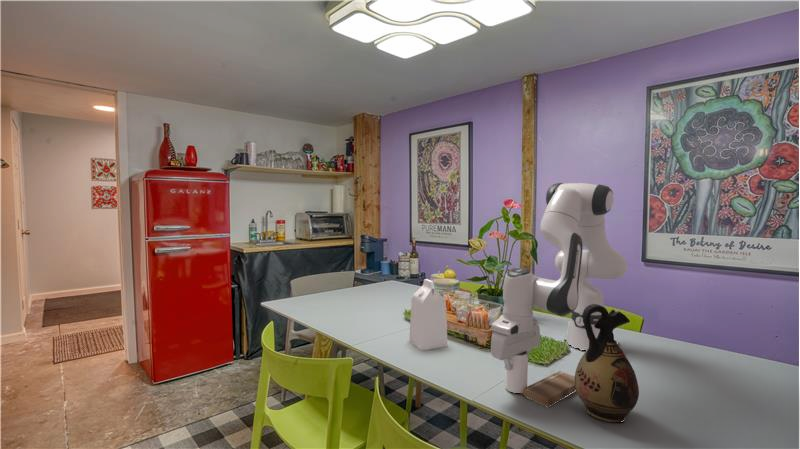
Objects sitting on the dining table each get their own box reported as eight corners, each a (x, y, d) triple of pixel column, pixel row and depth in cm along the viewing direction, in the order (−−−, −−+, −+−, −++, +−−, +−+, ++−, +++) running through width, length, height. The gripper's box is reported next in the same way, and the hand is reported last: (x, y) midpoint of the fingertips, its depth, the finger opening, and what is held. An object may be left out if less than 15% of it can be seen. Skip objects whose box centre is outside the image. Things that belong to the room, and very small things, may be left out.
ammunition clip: (463, 341, 158) (464, 313, 157) (465, 340, 159) (466, 312, 158) (488, 347, 151) (489, 317, 151) (490, 345, 153) (490, 316, 152)
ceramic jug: (614, 398, 112) (619, 298, 110) (651, 429, 97) (656, 313, 95) (558, 398, 111) (561, 298, 110) (585, 430, 96) (589, 313, 94)
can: (522, 384, 120) (523, 347, 120) (530, 394, 114) (531, 355, 113) (502, 384, 120) (503, 347, 119) (508, 394, 114) (509, 355, 113)
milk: (447, 346, 152) (448, 282, 150) (421, 350, 147) (422, 284, 146) (433, 336, 163) (434, 276, 161) (409, 340, 159) (409, 278, 157)
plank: (559, 378, 125) (559, 370, 125) (583, 387, 118) (584, 379, 118) (523, 396, 113) (523, 388, 113) (547, 408, 106) (548, 399, 106)
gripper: (528, 313, 124) (527, 354, 125) (487, 325, 112) (486, 371, 113) (546, 318, 119) (544, 361, 120) (505, 331, 107) (504, 379, 108)
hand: (516, 366), depth 116 cm, fingers closed on can, 6 cm apart
